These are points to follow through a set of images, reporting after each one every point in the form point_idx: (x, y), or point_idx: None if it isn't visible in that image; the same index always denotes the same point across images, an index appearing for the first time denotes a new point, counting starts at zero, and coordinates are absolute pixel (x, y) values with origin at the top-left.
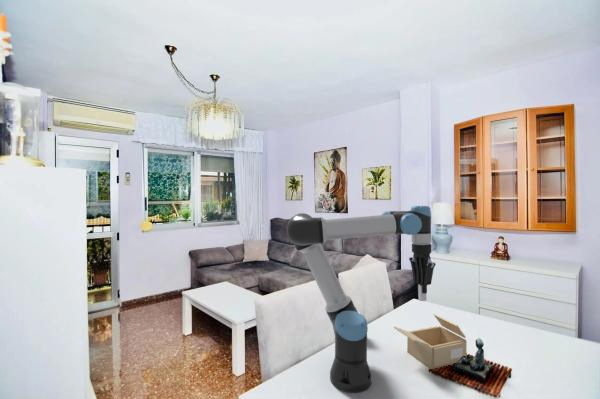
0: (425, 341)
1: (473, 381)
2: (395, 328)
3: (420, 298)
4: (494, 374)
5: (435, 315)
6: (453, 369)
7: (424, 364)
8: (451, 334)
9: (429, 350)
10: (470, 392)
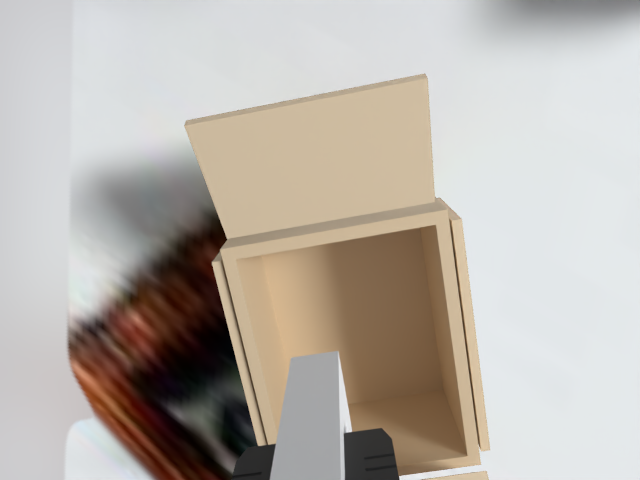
0: (437, 315)
1: (146, 348)
2: (403, 79)
3: (296, 371)
4: (187, 462)
5: (466, 474)
6: None
7: None
8: None
9: (242, 239)
10: (74, 285)
